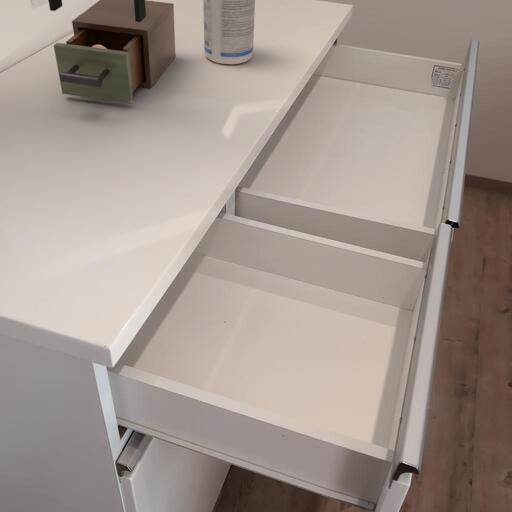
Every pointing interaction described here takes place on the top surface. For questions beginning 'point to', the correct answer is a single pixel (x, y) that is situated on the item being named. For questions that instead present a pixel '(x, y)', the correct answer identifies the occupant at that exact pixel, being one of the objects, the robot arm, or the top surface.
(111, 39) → the drawer
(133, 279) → the top surface
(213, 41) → the supplement tub
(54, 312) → the top surface
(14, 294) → the top surface
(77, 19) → the cabinet
